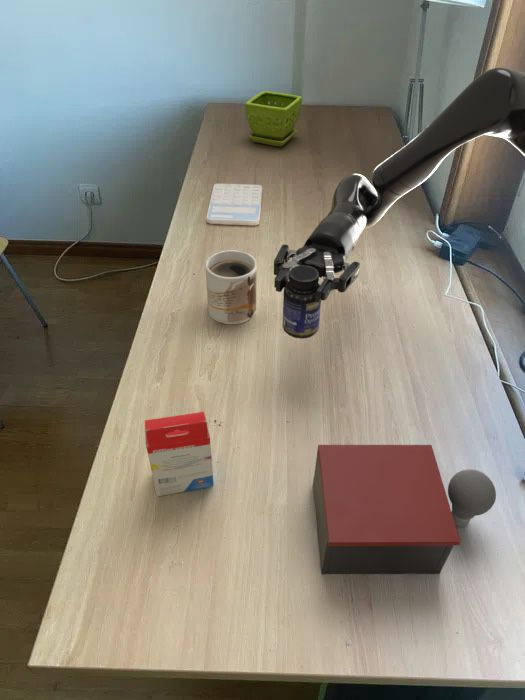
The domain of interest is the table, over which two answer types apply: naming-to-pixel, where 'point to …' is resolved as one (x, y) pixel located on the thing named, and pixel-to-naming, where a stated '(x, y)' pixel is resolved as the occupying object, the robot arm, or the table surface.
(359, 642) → the table surface
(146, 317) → the table surface
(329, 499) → the lid
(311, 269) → the pill bottle
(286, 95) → the flower pot
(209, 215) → the calculator
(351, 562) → the gray open box
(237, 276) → the mug
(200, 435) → the ink box
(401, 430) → the table surface
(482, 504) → the light bulb
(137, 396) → the table surface
